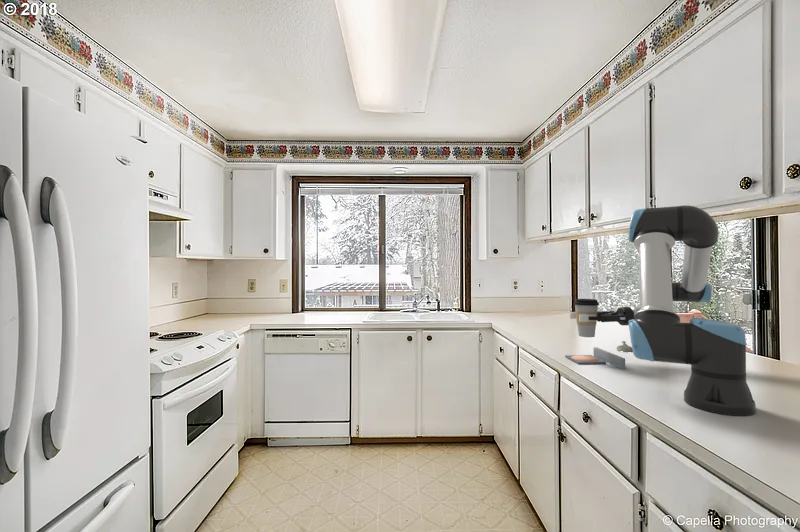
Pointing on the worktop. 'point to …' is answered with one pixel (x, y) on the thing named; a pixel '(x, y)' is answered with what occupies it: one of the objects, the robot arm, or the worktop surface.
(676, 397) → the worktop surface
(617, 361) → the blue-grey rectangular bar
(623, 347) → the toy dinosaur
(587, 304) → the coffee cup
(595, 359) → the mat
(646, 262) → the robot arm
